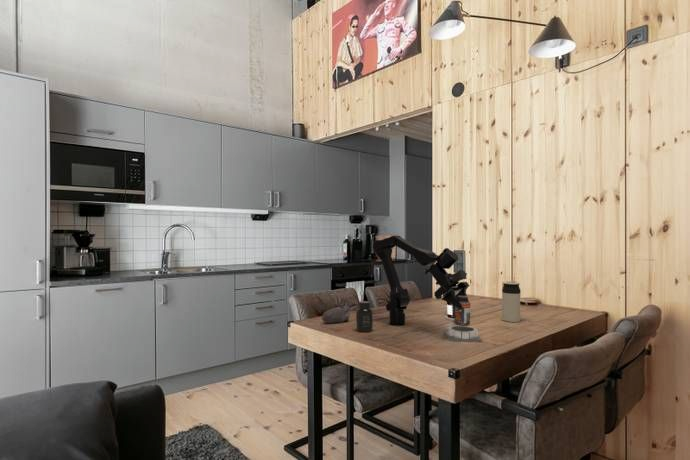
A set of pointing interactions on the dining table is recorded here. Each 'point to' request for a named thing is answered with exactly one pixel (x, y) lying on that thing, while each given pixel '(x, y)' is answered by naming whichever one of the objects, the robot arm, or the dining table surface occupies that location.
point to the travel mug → (511, 301)
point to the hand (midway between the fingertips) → (465, 307)
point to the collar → (463, 333)
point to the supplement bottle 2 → (462, 312)
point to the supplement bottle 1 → (364, 317)
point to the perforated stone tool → (336, 315)
